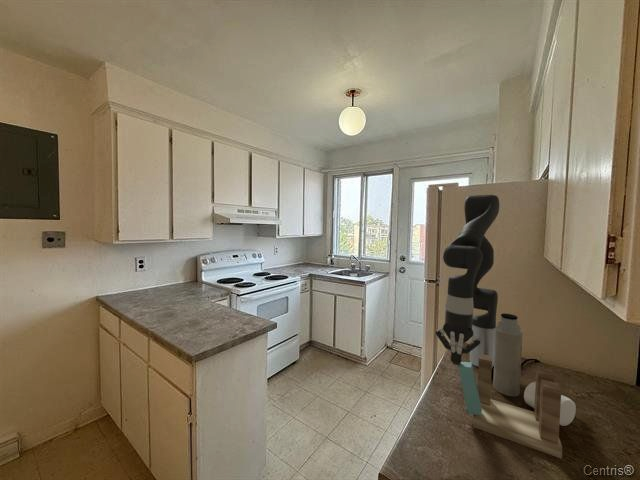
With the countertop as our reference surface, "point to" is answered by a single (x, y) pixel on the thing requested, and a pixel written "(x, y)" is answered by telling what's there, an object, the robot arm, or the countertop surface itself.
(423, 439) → the countertop surface
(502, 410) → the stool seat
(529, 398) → the mug
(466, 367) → the folding leg
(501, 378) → the thermos bottle
